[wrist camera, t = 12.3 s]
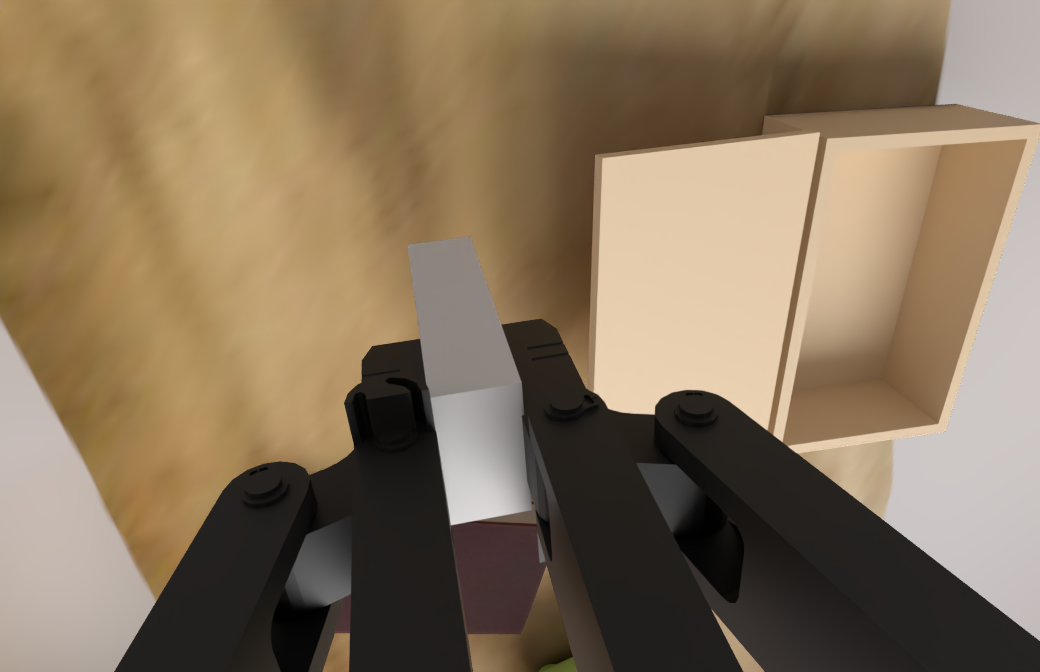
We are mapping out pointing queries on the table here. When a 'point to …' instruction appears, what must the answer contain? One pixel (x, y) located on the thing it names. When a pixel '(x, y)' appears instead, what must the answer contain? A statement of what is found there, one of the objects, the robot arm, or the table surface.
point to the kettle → (560, 666)
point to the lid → (696, 268)
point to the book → (492, 573)
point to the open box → (893, 267)
